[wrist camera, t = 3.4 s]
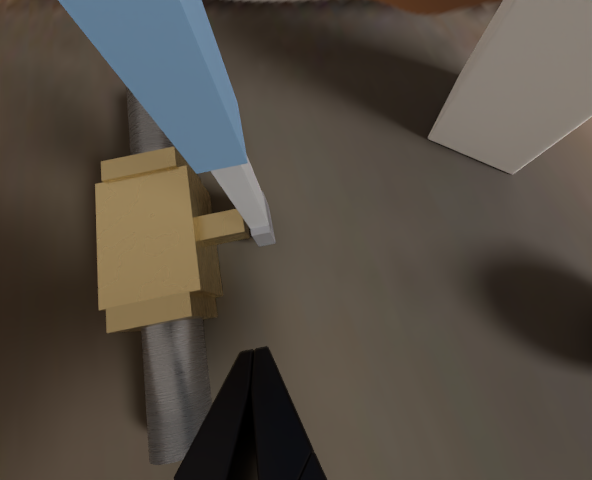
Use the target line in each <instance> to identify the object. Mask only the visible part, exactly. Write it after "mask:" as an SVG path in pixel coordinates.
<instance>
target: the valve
mask: <svg viewBox="0 0 592 480" xmlns="http://www.w3.org/2000/svg"><path fill="white" fill-rule="evenodd" d="M126 91H127V108H128V124H129V140H130V156H125V157H120V158H115V159H111V160H106V161H101V180H102V181H103V183H98V184H95V197H96V233H97V270H98V306H99V310H101V311H106V328H107V333H118V332H134V331H141V334H142V350H143V366H144V382H145V398H146V415H147V431H148V447H149V462H150V463H151V464H155V465H161V464H168V463H173V462H177V461H181V460H183V459H184V457H185V455H186V453H187V451H188V450H189V448H190V446H191V444H192V442H193V440H194V438H195V436H196V434H197V432H198V431H199V429H200V427H201V425H202V423H203V421H204V419H205V417H206V415H207V413H208V412H209V410H210V408H211V406H212V400H211V391H210V382H209V373H208V365H207V356H206V347H205V338H204V329H203V320H205V319H210V318H215V317H218V314H217V306H216V298H215V297H220V296H223V290H222V282H221V275H220V267H219V260H218V252H217V245H218V244H223V243H227V242H232V241H237V240H242V239H247V238H250V235H249V229H248V225H247V223H246V222H245V220H244V219H243V217H242V216H241V215H240V213H239V212H238V210H237V209H232V210H228V211H223V212H218V213H213V214H212V207H211V199H210V193H209V192H208V191H207V190H206V189H205V187H204V186H203V185H202V184H201V179H200V178H199V177H198V176H197V174H196V173H195V172H194V171H193V169H192V168H191V167H190V166H189V164H188V163H187V162H186V161H185V159H184V157H183V156H182V155H181V154H180V152H179V151H178V150H177V149H176V147H175V146H174V145H173V144H172V142H171V141H170V140H169V139H168V137H167V136H166V135H165V134H164V132H163V131H162V130H161V129H160V127H159V126H158V125H157V124H156V122H155V121H154V120H153V119H152V117H151V116H150V115H149V113H148V112H147V111H146V110H145V108H144V107H143V106H142V105H141V103H140V102H139V101H138V100H137V98H136V97H135V96H134V95H133V93H132V92H131V91H130V90H129V88H128V87H127V88H126Z"/></svg>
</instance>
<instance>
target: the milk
mask: <svg viewBox="0 0 592 480" xmlns="http://www.w3.org/2000/svg"><path fill="white" fill-rule="evenodd" d="M591 117H592V0H503V2H502V3H501V5H500V7H499V8H498V10H497V12H496V13H495V15H494V17H493V18H492V20H491V22H490V23H489V25H488V27H487V29H486V30H485V32H484V34H483V35H482V37H481V39H480V40H479V42H478V44H477V45H476V47H475V49H474V50H473V52H472V54H471V56H470V57H469V59H468V61H467V62H466V64H465V66H464V67H463V69H462V71H461V72H460V74H459V76H458V78H457V80H456V82H455V84H454V86H453V88H452V90H451V92H450V94H449V96H448V98H447V100H446V102H445V104H444V106H443V108H442V110H441V112H440V114H439V116H438V118H437V120H436V122H435V124H434V126H433V128H432V130H431V132H430V134H429V136H428V139H429V140H431V141H434V142H436V143H438V144H441V145H443V146H446V147H448V148H450V149H453V150H455V151H457V152H460V153H462V154H464V155H467V156H469V157H472V158H474V159H476V160H479V161H481V162H483V163H486V164H488V165H490V166H493V167H495V168H498V169H500V170H502V171H505V172H507V173H509V174H514V173H515V172H517V171H518V170H520V169H521V168H522V167H524V166H525V165H526V164H528V163H529V162H530V161H532V160H533V159H535V158H536V157H537V156H539V155H540V154H541V153H543V152H544V151H545V150H547V149H548V148H550V147H551V146H552V145H554V144H555V143H556V142H558V141H559V140H561V139H562V138H563V137H565V136H566V135H567V134H569V133H570V132H571V131H573V130H574V129H576V128H577V127H578V126H580V125H581V124H582V123H584V122H585V121H586V120H588V119H589V118H591Z"/></svg>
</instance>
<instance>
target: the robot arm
mask: <svg viewBox="0 0 592 480" xmlns="http://www.w3.org/2000/svg"><path fill="white" fill-rule="evenodd" d="M174 480H327V478H326V476H325V474H324V472H323V470H322V467H321V465H320V463H319V461H318V458H317V456H316V454H315V453H314V450H313V447H312V445H311V443H310V440H309V438H308V436H307V434H306V431H305V429H304V427H303V425H302V422H301V420H300V418H299V415H298V413H297V411H296V409H295V406H294V404H293V402H292V400H291V397H290V395H289V393H288V390H287V388H286V386H285V384H284V381H283V379H282V377H281V375H280V372H279V370H278V368H277V365H276V363H275V361H274V359H273V356H272V354H271V352H270V350H269V348H268V347H267V346H265V347H260V348H256V349H255V350H253V349H250V350H245V351H241V352H240V353H239V355H238V356H237V358H236V360H235V362H234V364H233V366H232V368H231V370H230V372H229V374H228V375H227V377H226V379H225V381H224V383H223V385H222V387H221V389H220V391H219V393H218V394H217V396H216V398H215V400H214V402H213V404H212V406H211V408H210V410H209V412H208V413H207V415H206V417H205V419H204V421H203V423H202V425H201V427H200V429H199V431H198V432H197V434H196V436H195V438H194V440H193V442H192V444H191V446H190V448H189V450H188V451H187V453H186V455H185V457H184V459H183V461H182V463H181V465H180V467H179V469H178V470H177V472H176V474H175V476H174Z"/></svg>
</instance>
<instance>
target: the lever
mask: <svg viewBox="0 0 592 480" xmlns="http://www.w3.org/2000/svg"><path fill="white" fill-rule="evenodd" d="M58 1H59V2H60V3H61V4H62V6H63V7H64V8H65V9H66V11H67V12H68V13H69V14H70V16H71V17H72V18H73V19H74V21H75V22H76V23H77V24H78V26H79V27H80V28H81V29H82V31H83V32H84V33H85V35H86V36H87V37H88V38H89V40H90V41H91V42H92V43H93V45H94V46H95V47H96V48H97V50H98V51H99V52H100V53H101V55H102V56H103V57H104V58H105V60H106V61H107V62H108V63H109V65H110V66H111V67H112V68H113V70H114V71H115V72H116V73H117V75H118V76H119V77H120V78H121V80H122V81H123V82H124V83H125V85H126V86H127V87H128V88H129V90H130V91H131V92H132V93H133V95H134V96H135V97H136V98H137V100H138V101H139V102H140V103H141V105H142V106H143V107H144V108H145V110H146V111H147V112H148V113H149V115H150V116H151V117H152V119H153V120H154V121H155V122H156V124H157V125H158V126H159V127H160V129H161V130H162V131H163V132H164V134H165V135H166V136H167V137H168V139H169V140H170V141H171V142H172V144H173V145H174V146H175V147H176V149H177V150H178V151H179V152H180V154H181V155H182V156H183V157H184V159H185V160H186V161H187V162H188V164H189V165H190V166H191V167H192V169H193V170H194V171H195V172H196V174H198V173H203V172H207V171H211V172H212V174H213V175H214V177H215V178H216V180H217V181H218V183H219V184H220V186H221V187H222V188H223V190H224V191H225V193H226V194H227V196H228V197H229V199H230V200H231V201H232V203H233V204H234V206H235V207H236V209H237V210H238V212H239V213H240V215H241V216H242V217H243V219H244V220H245V222H246V223H247V225H248V226H249V228H250V229H251V235H252V237H253V239H254V240H255V241H256V243H257V244H258V245H259V247H260V246H265V245H270V244H275V237H274V232H273V226H272V221H271V215H270V210H269V206H268V203H267V201H266V198H265V195H264V193H263V191H261V189H260V187H259V184H258V182H257V179H256V177H255V174H254V172H253V169H252V167H251V164H250V162H249V159H248V157H247V154H246V150H245V144H244V138H243V132H242V126H241V120H240V115H239V109H238V103H237V100H236V97H235V95H234V92H233V89H232V86H231V83H230V80H229V77H228V75H227V72H226V69H225V66H224V63H223V60H222V57H221V55H220V52H219V49H218V46H217V43H216V40H215V37H214V35H213V32H212V29H211V26H210V23H209V20H208V17H207V15H206V12H205V9H204V6H203V3H202V0H58Z"/></svg>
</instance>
